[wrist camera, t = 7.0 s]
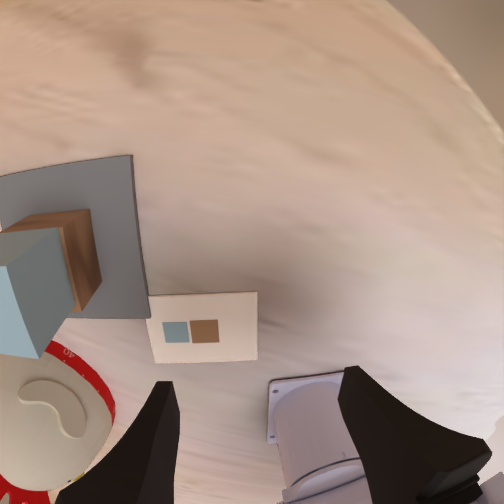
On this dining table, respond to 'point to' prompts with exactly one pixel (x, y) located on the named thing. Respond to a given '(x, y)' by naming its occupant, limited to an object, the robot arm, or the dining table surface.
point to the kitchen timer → (49, 422)
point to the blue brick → (32, 291)
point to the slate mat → (103, 222)
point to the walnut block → (71, 249)
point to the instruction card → (203, 327)
